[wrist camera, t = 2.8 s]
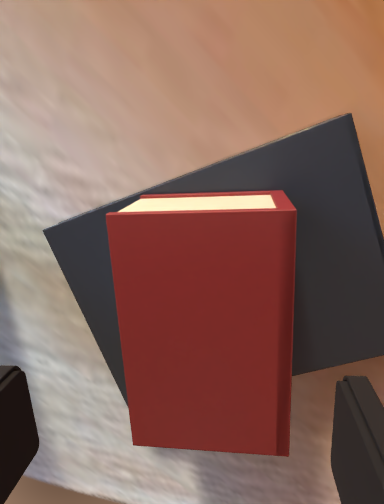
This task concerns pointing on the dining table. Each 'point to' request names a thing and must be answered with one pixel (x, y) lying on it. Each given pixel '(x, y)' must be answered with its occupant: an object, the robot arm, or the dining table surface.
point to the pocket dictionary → (207, 318)
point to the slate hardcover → (307, 245)
